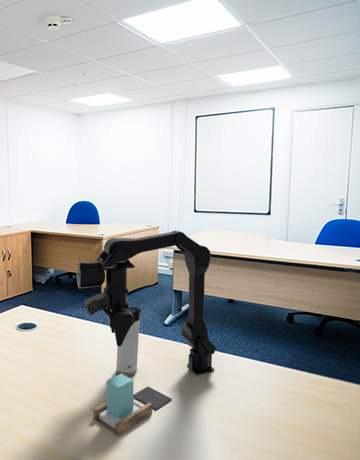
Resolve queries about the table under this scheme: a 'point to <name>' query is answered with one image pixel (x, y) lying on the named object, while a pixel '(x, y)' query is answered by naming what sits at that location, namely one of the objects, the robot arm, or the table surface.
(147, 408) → the track
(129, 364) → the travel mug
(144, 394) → the dark gray rectangular plate
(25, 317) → the table surface
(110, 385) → the blue pillar on plinth
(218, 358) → the table surface
